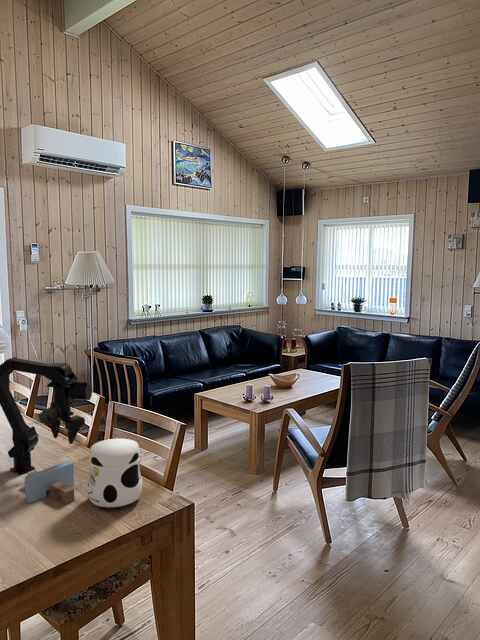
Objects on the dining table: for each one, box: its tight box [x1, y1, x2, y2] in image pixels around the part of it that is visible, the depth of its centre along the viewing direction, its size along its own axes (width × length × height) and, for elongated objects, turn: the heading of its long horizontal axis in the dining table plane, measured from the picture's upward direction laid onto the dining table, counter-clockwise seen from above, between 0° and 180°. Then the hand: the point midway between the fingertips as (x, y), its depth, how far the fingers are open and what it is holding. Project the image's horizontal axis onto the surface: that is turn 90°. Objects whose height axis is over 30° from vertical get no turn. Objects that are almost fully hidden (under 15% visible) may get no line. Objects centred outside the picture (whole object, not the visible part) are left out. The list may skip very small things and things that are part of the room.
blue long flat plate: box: [24, 460, 75, 504], centre depth 165 cm, size 3×16×8 cm, turn 143°
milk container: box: [87, 438, 144, 509], centre depth 160 cm, size 17×17×18 cm
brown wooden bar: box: [27, 470, 75, 505], centre depth 165 cm, size 22×3×4 cm, turn 54°
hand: (63, 440), depth 179 cm, fingers open, 9 cm apart
